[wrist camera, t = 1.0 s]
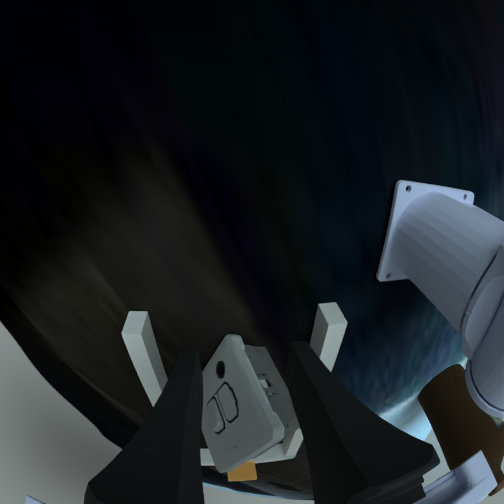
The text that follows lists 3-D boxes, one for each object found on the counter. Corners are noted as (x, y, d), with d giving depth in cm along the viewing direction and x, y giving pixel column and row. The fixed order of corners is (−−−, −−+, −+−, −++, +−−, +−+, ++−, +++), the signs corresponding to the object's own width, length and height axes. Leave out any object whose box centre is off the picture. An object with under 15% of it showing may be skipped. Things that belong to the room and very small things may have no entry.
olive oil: (421, 406, 36) (469, 505, 14) (408, 395, 32) (465, 517, 10) (465, 370, 34) (522, 465, 12) (460, 352, 30) (532, 467, 7)
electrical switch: (228, 326, 21) (252, 436, 13) (282, 339, 23) (319, 433, 15) (189, 387, 24) (198, 473, 16) (235, 394, 26) (253, 472, 18)
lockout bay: (335, 302, 21) (363, 351, 16) (290, 445, 34) (297, 474, 29) (129, 311, 19) (110, 365, 14) (186, 451, 32) (187, 481, 27)
